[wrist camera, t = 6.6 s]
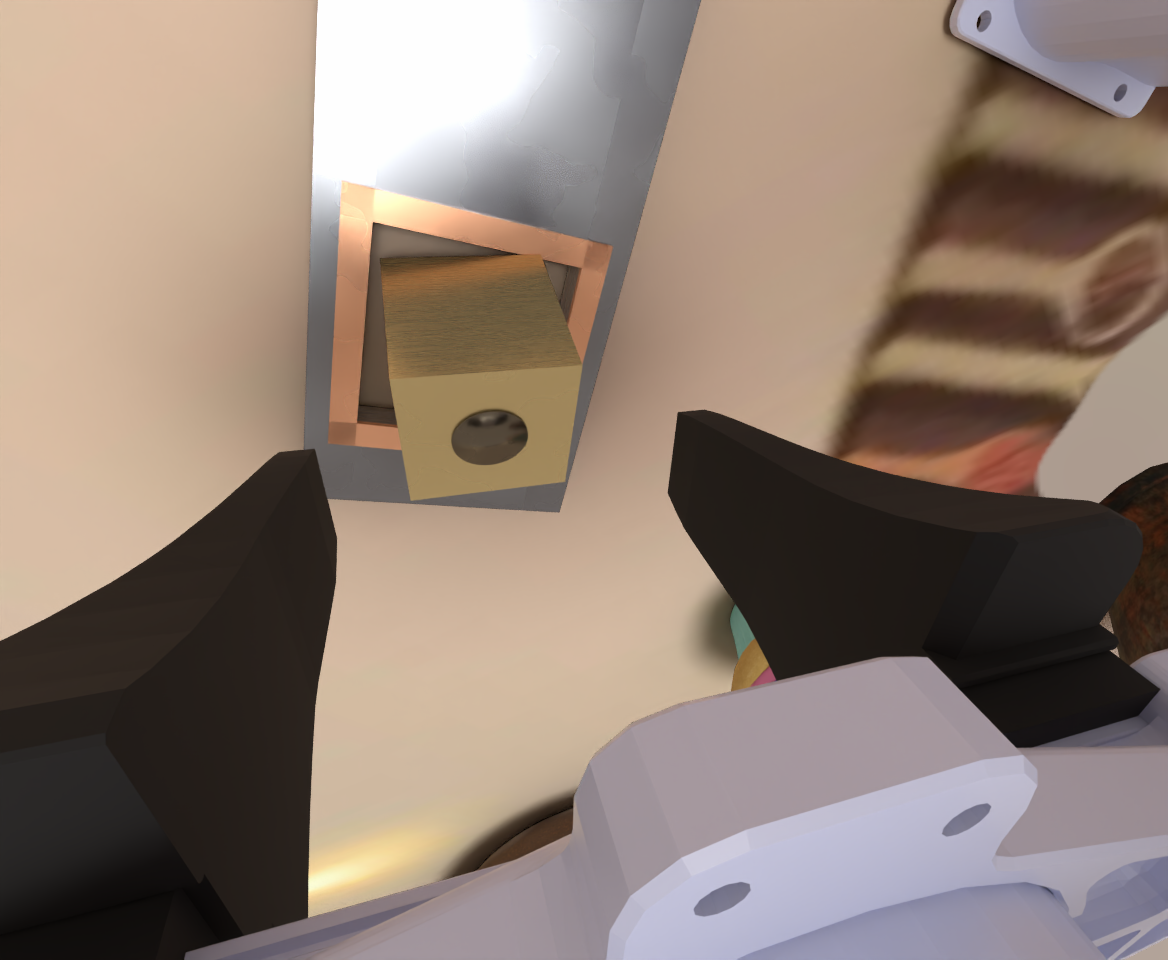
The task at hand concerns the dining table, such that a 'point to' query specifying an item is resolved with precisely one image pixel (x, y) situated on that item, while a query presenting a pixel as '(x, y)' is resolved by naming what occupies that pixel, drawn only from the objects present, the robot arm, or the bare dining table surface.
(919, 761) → the robot arm
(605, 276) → the rail
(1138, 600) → the pitcher
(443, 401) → the brass cube with hole
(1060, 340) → the dining table surface
